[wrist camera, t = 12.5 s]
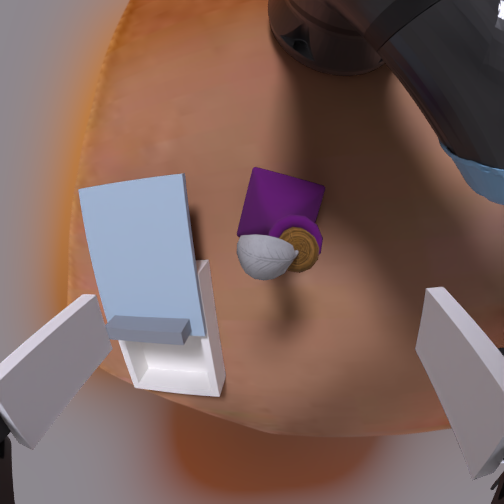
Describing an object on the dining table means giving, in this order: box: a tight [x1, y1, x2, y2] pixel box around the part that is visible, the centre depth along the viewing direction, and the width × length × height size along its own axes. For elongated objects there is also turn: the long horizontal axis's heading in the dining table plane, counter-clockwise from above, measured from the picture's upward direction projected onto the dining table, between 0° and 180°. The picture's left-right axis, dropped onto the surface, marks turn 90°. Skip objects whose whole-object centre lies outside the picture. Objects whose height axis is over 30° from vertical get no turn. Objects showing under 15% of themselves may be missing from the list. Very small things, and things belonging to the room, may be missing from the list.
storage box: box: [119, 260, 226, 397], centre depth 40 cm, size 18×13×4 cm
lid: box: [79, 173, 207, 345], centre depth 32 cm, size 18×13×4 cm
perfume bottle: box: [237, 167, 325, 280], centre depth 27 cm, size 8×8×18 cm
